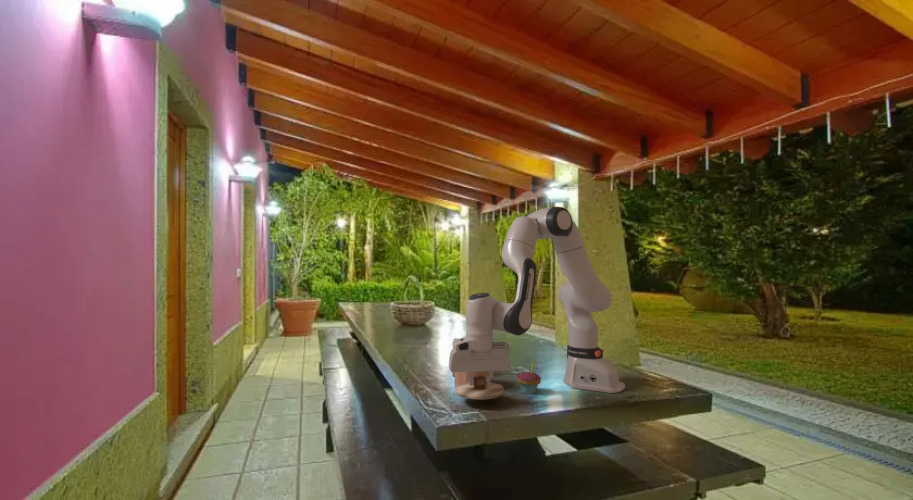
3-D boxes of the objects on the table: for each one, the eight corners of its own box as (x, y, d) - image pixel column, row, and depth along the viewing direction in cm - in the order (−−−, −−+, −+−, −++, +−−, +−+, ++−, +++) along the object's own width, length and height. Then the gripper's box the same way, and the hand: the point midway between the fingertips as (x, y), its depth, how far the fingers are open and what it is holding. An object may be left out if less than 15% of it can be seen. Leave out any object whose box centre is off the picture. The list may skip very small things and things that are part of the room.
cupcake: (542, 390, 167) (542, 356, 167) (538, 396, 159) (539, 361, 159) (518, 387, 170) (519, 354, 170) (513, 393, 162) (514, 359, 162)
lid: (512, 389, 154) (512, 375, 154) (487, 402, 141) (487, 387, 141) (472, 382, 163) (472, 368, 163) (445, 393, 150) (445, 379, 150)
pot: (496, 384, 173) (496, 358, 173) (477, 392, 162) (477, 364, 162) (467, 378, 180) (468, 353, 181) (447, 386, 170) (448, 359, 170)
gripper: (507, 339, 157) (507, 380, 157) (447, 341, 154) (447, 383, 154) (512, 343, 151) (512, 385, 151) (450, 345, 148) (450, 388, 147)
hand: (479, 384), depth 152 cm, fingers closed on lid, 4 cm apart
